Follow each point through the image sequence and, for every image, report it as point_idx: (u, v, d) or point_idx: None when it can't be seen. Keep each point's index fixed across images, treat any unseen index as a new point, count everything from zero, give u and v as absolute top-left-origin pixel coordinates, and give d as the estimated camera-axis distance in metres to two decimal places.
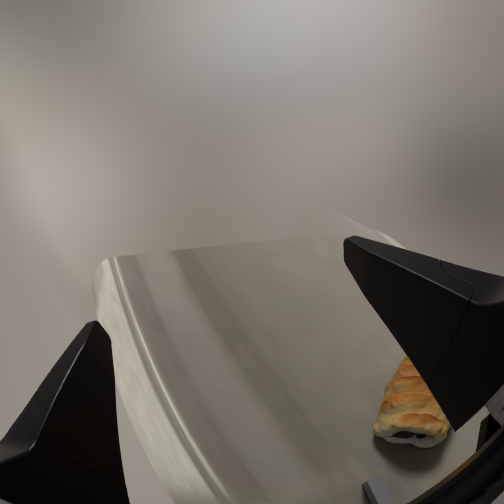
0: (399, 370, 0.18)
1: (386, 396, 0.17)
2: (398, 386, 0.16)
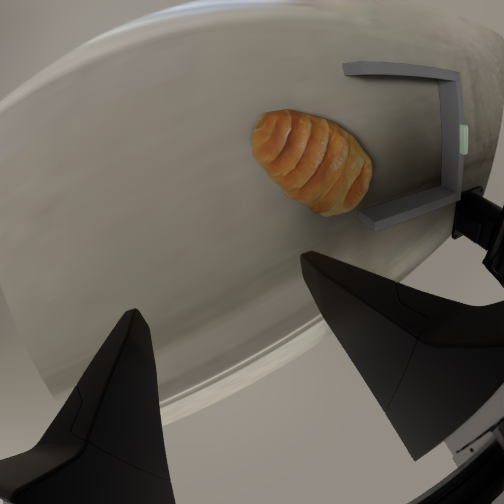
0: (288, 187, 0.18)
1: (305, 203, 0.20)
2: (312, 198, 0.18)
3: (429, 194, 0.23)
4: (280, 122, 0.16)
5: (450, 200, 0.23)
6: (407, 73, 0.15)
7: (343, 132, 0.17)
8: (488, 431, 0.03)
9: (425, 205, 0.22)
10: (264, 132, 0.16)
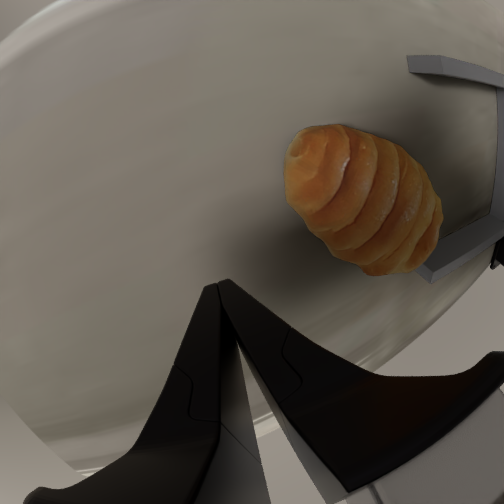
0: (339, 248, 0.12)
1: (355, 263, 0.14)
2: (371, 262, 0.12)
3: (482, 227, 0.17)
4: (333, 147, 0.10)
5: (502, 233, 0.16)
6: (483, 79, 0.09)
7: (413, 162, 0.11)
8: None
9: (482, 243, 0.16)
10: (308, 163, 0.10)
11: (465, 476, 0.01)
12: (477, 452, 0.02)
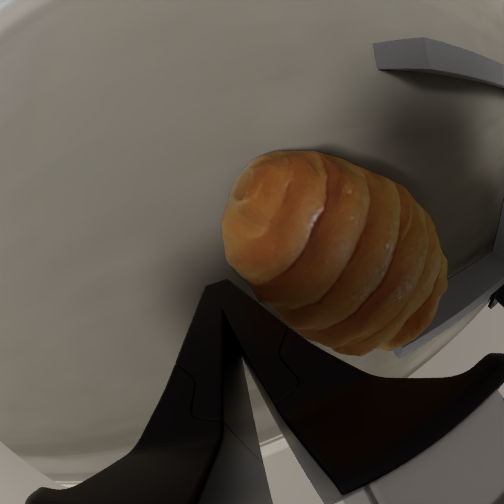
0: (296, 327, 0.09)
1: None
2: (340, 346, 0.09)
3: (481, 272, 0.14)
4: (299, 189, 0.07)
5: None
6: (494, 78, 0.05)
7: (419, 212, 0.08)
8: None
9: (477, 299, 0.12)
10: (256, 213, 0.07)
11: (462, 479, 0.01)
12: (474, 454, 0.02)
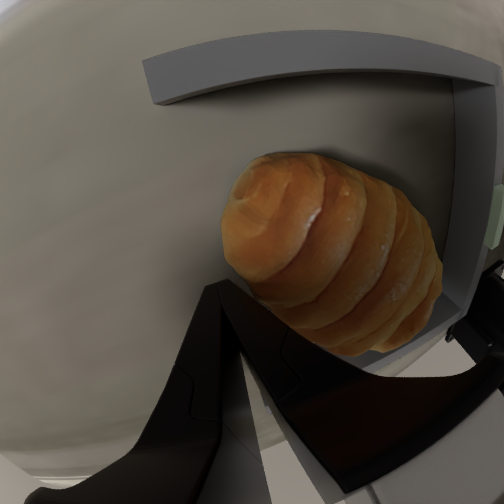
0: (291, 326, 0.09)
1: None
2: (334, 346, 0.09)
3: None
4: (297, 189, 0.07)
5: (447, 324, 0.12)
6: (356, 60, 0.05)
7: (416, 216, 0.08)
8: None
9: (390, 355, 0.12)
10: (255, 212, 0.07)
11: (463, 477, 0.01)
12: (476, 453, 0.02)
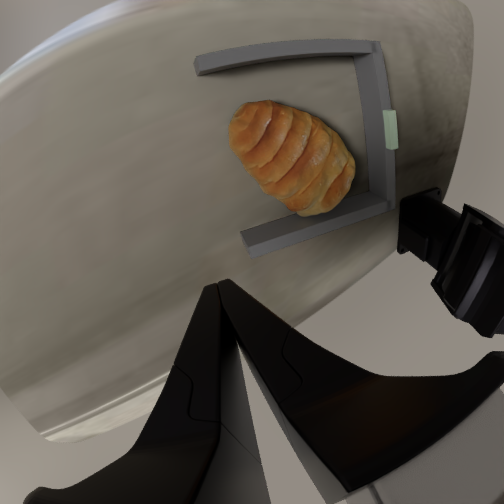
0: (263, 180, 0.17)
1: (281, 199, 0.19)
2: (288, 194, 0.18)
3: (345, 204, 0.21)
4: (261, 111, 0.15)
5: (376, 210, 0.21)
6: (276, 53, 0.13)
7: (327, 128, 0.17)
8: None
9: (331, 220, 0.20)
10: (243, 121, 0.16)
11: (465, 476, 0.01)
12: (477, 451, 0.02)
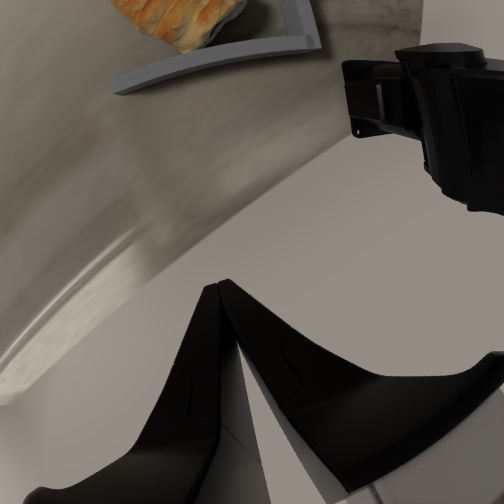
0: (129, 11, 0.10)
1: (154, 32, 0.11)
2: (153, 16, 0.10)
3: None
4: None
5: (291, 44, 0.13)
6: None
7: None
8: None
9: (219, 46, 0.12)
10: None
11: (465, 476, 0.01)
12: (477, 452, 0.02)
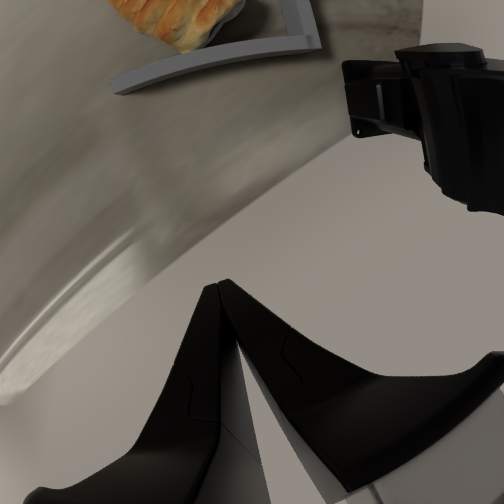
0: (128, 11, 0.10)
1: (153, 33, 0.11)
2: (152, 16, 0.10)
3: None
4: None
5: (291, 43, 0.13)
6: None
7: None
8: None
9: (219, 46, 0.12)
10: None
11: (465, 476, 0.01)
12: (477, 452, 0.02)
